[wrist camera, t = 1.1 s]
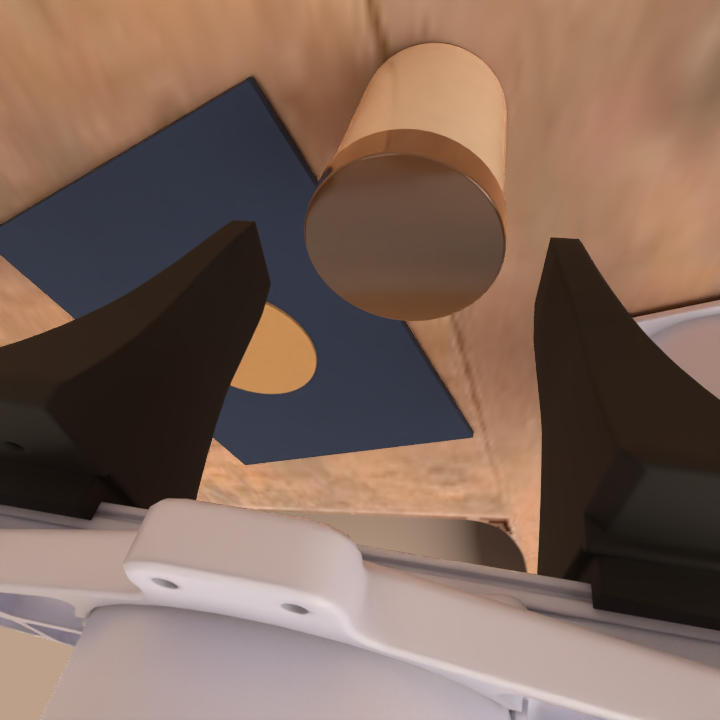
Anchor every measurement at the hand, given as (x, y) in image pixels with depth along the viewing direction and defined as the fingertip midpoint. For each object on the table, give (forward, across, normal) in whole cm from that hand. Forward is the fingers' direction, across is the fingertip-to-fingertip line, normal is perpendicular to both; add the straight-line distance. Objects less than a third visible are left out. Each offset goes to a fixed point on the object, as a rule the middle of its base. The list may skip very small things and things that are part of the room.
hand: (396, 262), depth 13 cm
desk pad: (+8, +10, +12) cm, 17 cm away
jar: (+8, 0, 0) cm, 8 cm away
